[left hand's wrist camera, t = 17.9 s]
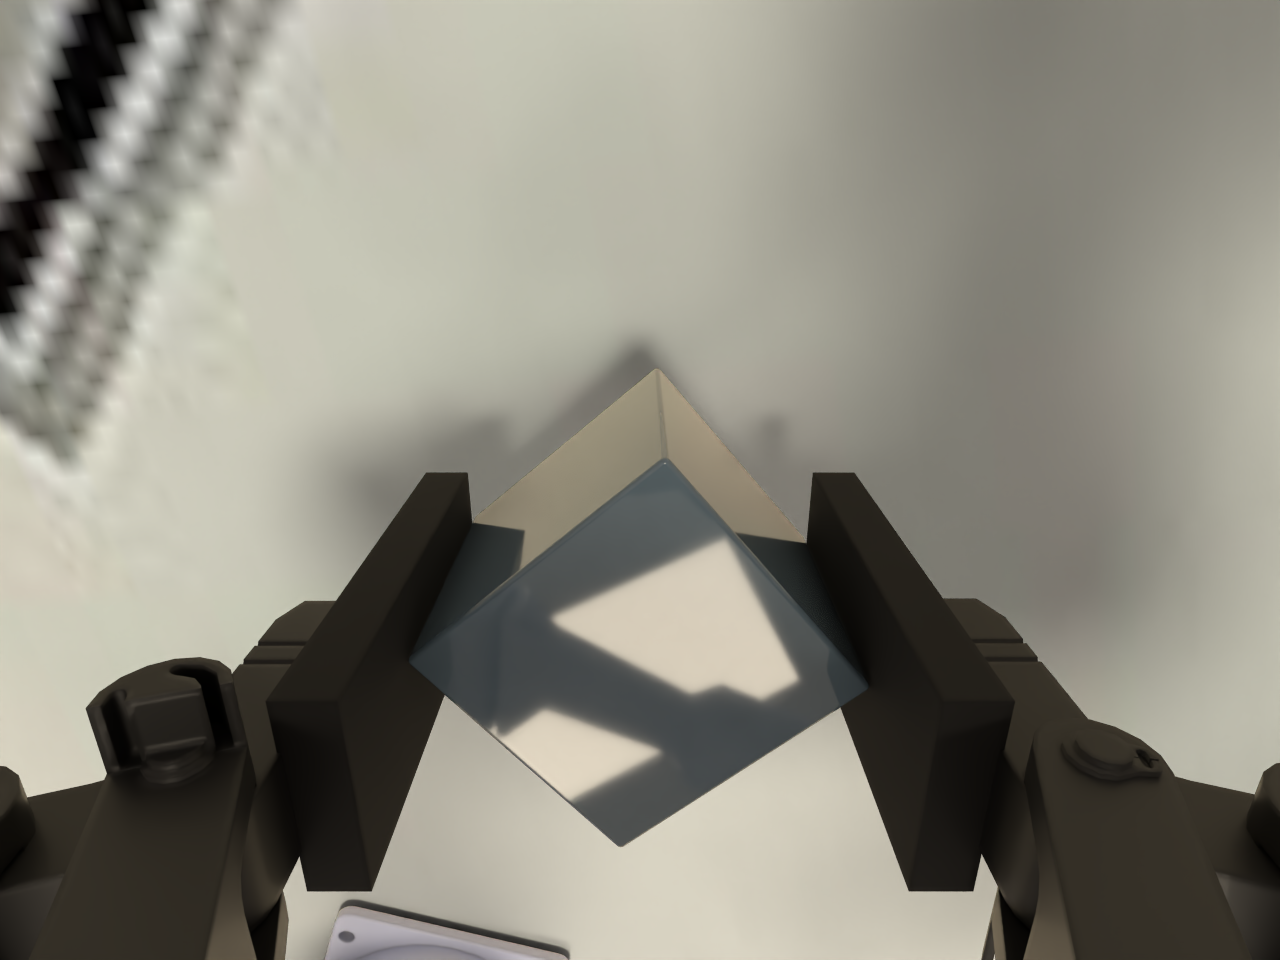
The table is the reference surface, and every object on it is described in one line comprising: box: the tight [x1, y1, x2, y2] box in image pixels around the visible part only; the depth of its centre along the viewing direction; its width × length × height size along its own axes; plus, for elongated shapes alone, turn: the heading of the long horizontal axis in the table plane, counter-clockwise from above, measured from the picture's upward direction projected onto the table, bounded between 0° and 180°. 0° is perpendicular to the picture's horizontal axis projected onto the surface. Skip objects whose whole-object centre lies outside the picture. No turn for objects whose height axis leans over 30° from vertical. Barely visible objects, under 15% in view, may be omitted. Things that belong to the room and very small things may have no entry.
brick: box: [408, 368, 869, 847], centre depth 13 cm, size 4×4×5 cm
